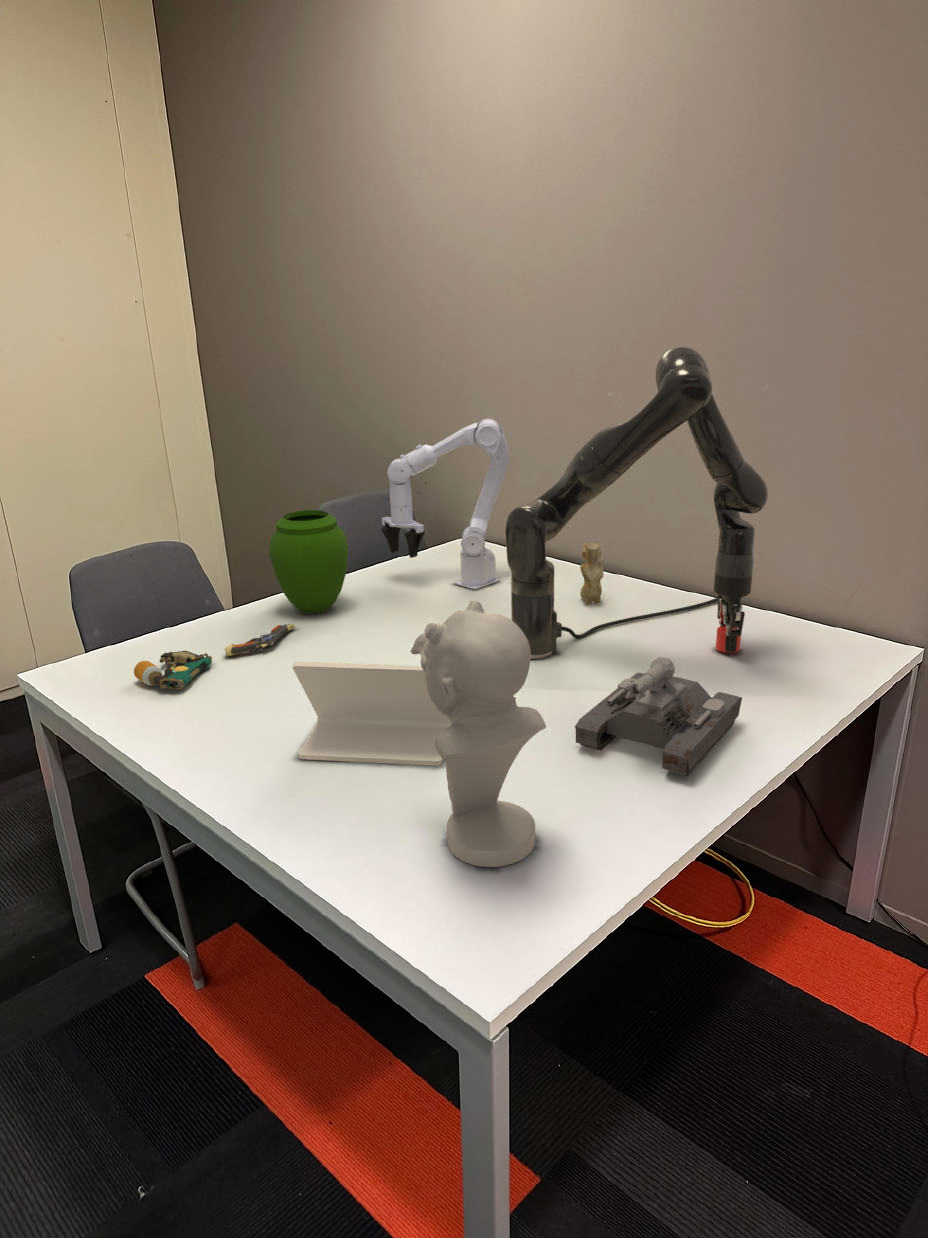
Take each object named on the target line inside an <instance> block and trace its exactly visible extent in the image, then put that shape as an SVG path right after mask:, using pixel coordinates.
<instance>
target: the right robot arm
mask: <svg viewBox="0 0 928 1238" xmlns="http://www.w3.org/2000/svg"><path fill="white" fill-rule="evenodd" d="M655 383H656V388H657V393H655V395H654V396H653V398H652V399H651V400H650V401H649V402H648V403H647V404H646V405H645V406H643V408H642V409H641V410H640V411H639V412H638V413H637V414H635V415H634V416H633V417H631V418H629V419H626V420H624V421H621V422H618V423H615V424H612V425H609V426H606V427H605V428H604V427H603V428H602V429H601V430H598V432H597V433H596V434H594V435H593V436H592V437H591V438H590V439H589V440H588V441H586V443H585V444H584V445H583V446H582V447H581V448H580V449H579V450H578V451H577V452H576V454H575V455H574V456H573V457H572V458H571V460H570V462H569V464H568V465H567V467H566V469H565V471H564V473H563V475H562V476H561V478H560V479H559V480H558V481H557V482H556V483H555V484H553V486H551V487H550V488H549V489H548V490H547V491H545V492H544V493H543V494H542V495H540V496H539V497H537V498H535V499H534V500H532V501H529V502H527V503H523V504H522V505H519V506H517V507H515V508H514V509H512V510H511V511H510V512H509V514H508V515H507V517H506V521H505V548H506V561H507V565H508V568H509V570H510V588H511V589H510V597H511V599H510V603H511V604H510V606H511V607H510V609H511V610H510V615H511V617H510V619H511V620H512V621H513V622H514V623H515V624H516V625H517V626H518V627H519V628H520V629H521V630H522V632H523V633H524V634H525V636H526V638H527V640H528V643H529V646H530V652H531V653H530V655H531V656H530V660H540V659H545V658H548V657H550V656H552V655H557V654H558V653H557V650H558V649H557V648H558V647H557V645H558V644H557V643H558V638H561V637H562V632H563V631H564V632H567V633H569V634H570V635H571V636H572V637H573V638H574V639H577V640H578V639H579V640H580V639H584V638H586V637H588V636H590V635H591V634H592V633H594V632H596V631H598V630H602V629H605V628H608V627H611V626H615V625H620V624H626V623H630V622H635V621H639V620H640V621H641V620H645V619H649V618H654V617H661V616H666V615H672V614H676V613H680V612H685V611H690V610H694V609H697V608H702V607H705V606H708V605H709V606H710V605H712V604H714V603H717V616H716V618H717V620H719V621H718V625H719V627H721V626H726V641H725V651H726V652H725V653H728V652H732V653H736V652H735V651H736V645H737V636H741V637H742V634H743V633H742V632H743V626H744V620H745V616H746V612H745V611H743V603H742V601H741V599H742V598H745V597H748V596H749V595H750V594H751V592H752V585H753V584H752V583H753V573H754V548H755V540H756V539H755V537H756V528H755V526H754V525H753V524H752V523H751V522H749V521H746V520H745V519H744V518H742V515H741V513H743V514H748V515H750V514H757V513H759V512H761V511H762V510H763V509H764V508H765V506H766V505H767V503H768V500H769V491H768V487H767V484H766V482H765V480H764V478H763V477H762V476H761V475H760V473H758V472H757V470H755V468H754V467H753V466H752V465H751V464H750V463H749V462H747V461H746V459H745V458H744V456H743V453H742V451H741V450H740V448H739V445H738V443H737V441H736V439H735V437H734V436H733V434H732V432H731V430H730V428H729V426H728V424H727V423H726V420H725V419H724V416H723V415H722V412H721V411H720V408H719V407H718V404H717V402H716V400H715V397H714V394H713V382H712V379H711V374H710V371H709V368H708V365H707V362H706V361H705V358H704V357H703V356H702V355H701V354H700V353H699V352H698V351H697V350H695V349H693V348H691V347H687V346H678V347H675V348H672V349H669V350H667V351H666V352H665V353H664V354H663V355H662V356H661V357H660V358H659V361H658V362H657V365H656V368H655ZM684 423H687V425H688V428H689V431H690V433H691V436H692V439H693V442H694V444H695V447H696V450H697V452H698V455H699V456H700V459H701V460H702V463H703V465H704V467H705V469H706V470H707V472H708V474H709V476H710V477H711V479H712V480H713V481H714V482H715V483H716V485H715V487H714V490H713V505H714V509H715V516H716V520H717V521H716V522H717V525H718V530H719V536H718V545H717V546H718V547H717V554H716V558H715V569H714V579H713V581H714V582H713V592H714V593H715V594H716V595H717V597H716V598H712V599H710V600H707V601H704V602H700V603H696V604H693V605H688V606H687V605H686V606H683V607H679V608H673V609H669V610H663V611H657V612H652V613H646V614H641V615H636V616H630V617H627V618H621V619H618V620H613V621H610V622H605V623H601V624H599V625H596V626H594V627H591V628H590V629H588V630H587V631H585V632H584V633H582V634H581V633H580V634H577V633H576V632H574V630H573V629H572V628H569V627H567V626H563V623H561V622H559V621H558V613H557V612H556V611H555V565H554V564H553V562H551V561H550V560H548V559H547V555H546V553H547V552H546V544H547V543H549V542H550V541H552V540H553V539H555V538H556V537H557V536H558V535H559V533H561V531H562V530H563V529H564V528H565V526H566V525H567V524H568V523H569V521H571V519H573V517H575V515H576V514H577V513H578V512H579V511H580V510H581V509H582V508H583V507H584V506H586V505H587V504H588V503H589V502H591V501H593V500H594V499H595V498H597V496H599V495H600V494H601V493H603V492H604V491H605V490H606V489H607V488H609V487H610V486H611V485H613V484H614V483H615V482H616V481H617V480H618V479H619V478H621V476H623V475H624V474H625V473H627V471H629V469H630V468H631V467H632V466H634V464H636V463H637V462H638V460H639V459H641V458H642V457H643V456H644V455H645V454H647V453H649V451H650V450H651V449H652V448H653V447H655V446H656V445H657V444H658V443H659V442H660V441H662V440H663V439H664V438H665V437H667V436H668V435H669V434H671V433H672V432H673V431H674V430H676V429H678V428H679V427H680V426H682V425H683V424H684ZM734 627H735V630H733V628H734Z"/></svg>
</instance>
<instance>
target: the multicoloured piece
mask: <svg viewBox="0 0 928 1238" xmlns="http://www.w3.org/2000/svg"><path fill="white" fill-rule="evenodd" d="M212 660H213V657H212V656H211V655H208V653H207V652H205V653H201V654H197V653H194V652H192V651H191V652H190V651H188V650H180V651H169V652H164V653H162V654H161V655H160V658H159V660H158V662H159V663H161V664H163V663H165V664H166V668H165V670H163V672H164V674H163V673H162V669H160V668H159V666H157V665H156V664H154V663H152V662H151V661H149V660H141V661H139V662H138V663H136V665H135V666H134V668H133V675H134V677H135V678H136V679H137V680H139V681H140V682H142V683H143V684H145V685H147V686H155V685H157V686H158V687H160V688H161V689H171V690H172V689H173V690H182V689H184V687H185V686H186V685H188V684H189V683H190V682H191V681H192V679H193V678H195V677H196V676H197V675H198V674H200V673H201V672H202V671H203V670H206V669H208V668H209V667H210V666H211V665H212V662H213V661H212ZM178 663H179V664H181V665H179V666H176V665H177V664H178Z"/></svg>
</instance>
